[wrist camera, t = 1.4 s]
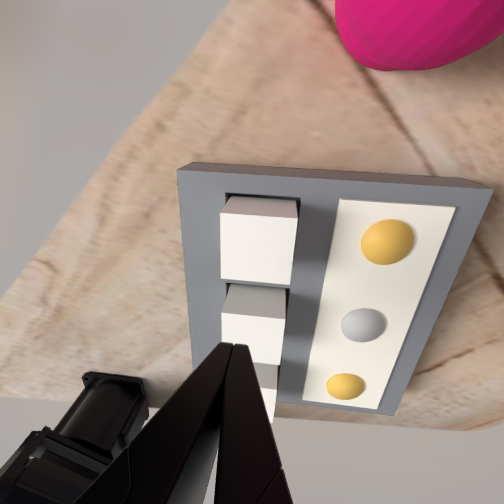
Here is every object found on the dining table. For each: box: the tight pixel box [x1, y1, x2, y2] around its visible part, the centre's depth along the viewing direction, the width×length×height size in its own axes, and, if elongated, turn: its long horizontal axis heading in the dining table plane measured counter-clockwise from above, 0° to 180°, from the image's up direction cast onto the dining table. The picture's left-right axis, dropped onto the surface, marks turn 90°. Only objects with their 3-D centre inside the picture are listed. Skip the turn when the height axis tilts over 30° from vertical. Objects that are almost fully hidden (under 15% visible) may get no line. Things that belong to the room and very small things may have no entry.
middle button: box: [221, 283, 286, 365], centre depth 18 cm, size 4×4×3 cm
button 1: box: [220, 196, 298, 285], centre depth 15 cm, size 4×4×3 cm
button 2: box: [253, 362, 278, 423], centre depth 21 cm, size 4×4×3 cm
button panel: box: [177, 162, 494, 416], centre depth 20 cm, size 17×19×4 cm
